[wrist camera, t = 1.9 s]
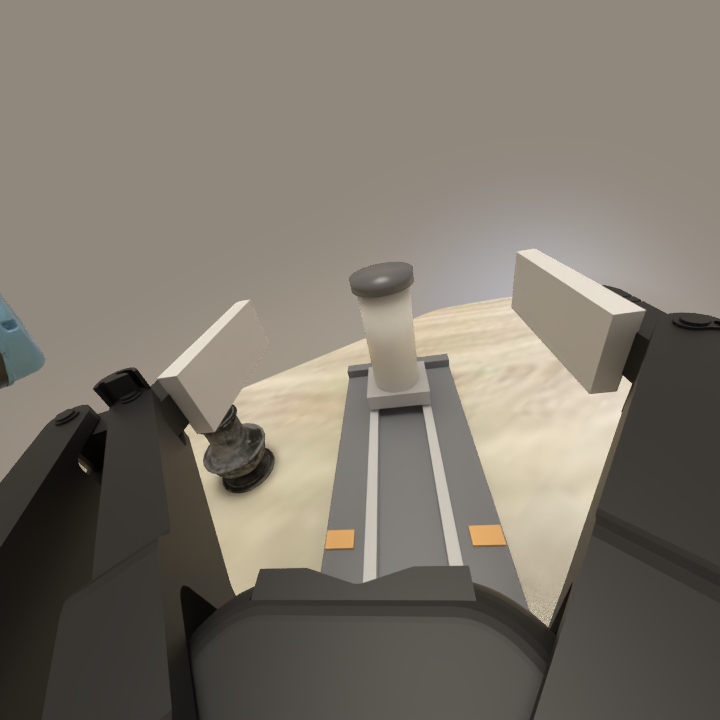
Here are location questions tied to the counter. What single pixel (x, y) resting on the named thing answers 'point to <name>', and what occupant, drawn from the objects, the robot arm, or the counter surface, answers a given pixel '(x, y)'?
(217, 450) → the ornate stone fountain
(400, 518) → the console
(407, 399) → the fader
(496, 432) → the counter surface
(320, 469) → the counter surface
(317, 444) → the counter surface
